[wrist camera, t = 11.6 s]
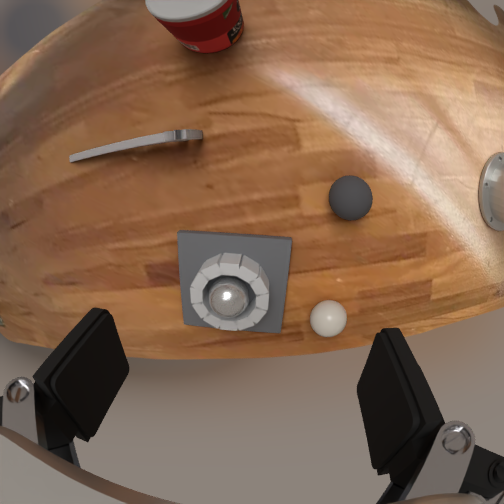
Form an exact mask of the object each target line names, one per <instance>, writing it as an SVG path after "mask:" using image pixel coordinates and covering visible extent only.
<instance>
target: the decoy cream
mask: <svg viewBox="0 0 504 504" xmlns="http://www.w3.org/2000/svg"><path fill="white" fill-rule="evenodd" d="M346 322H347V314H346V311H345V309H344V307H343V306H342V305H341V304H340V303H338V302H337V301H334V300H325V301H322V302H320V303H318V304H317V305H316V306H315V307H314V308H313V310H312V312H311V315H310V324H311V327H312V328H313V330H314V331H315V332H316V333H317V334H318V335H320V336H323V337H333V336H335V335H337V334H339V333H340V332H341V331H342V330H343V329H344V327H345V325H346Z"/></svg>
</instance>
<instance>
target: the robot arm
mask: <svg viewBox="0 0 504 504" xmlns="http://www.w3.org/2000/svg"><path fill="white" fill-rule="evenodd" d="M479 203H480V209H481V213H482V216H483V218H484V220H485V222H486V223H487V224H488V225H489V226H490V227H491V228H493V229H495V230H497V231H504V153H503V152H499V153H495V154H494V155H492V156H491V157H490V158H489V159H488V161H487V163H486V164H485V166H484V169H483V171H482V175H481V179H480V185H479ZM128 373H129V364H128V361H127V359H126V356H125V353H124V350H123V347H122V344H121V341H120V338H119V335H118V332H117V329H116V326H115V322H114V319H113V316H112V315H111V314H110V313H109V311H108V310H106V309H100V308H92V309H91V310H90V311H89V312H88V313H87V314H86V315H85V316H84V317H83V319H82V320H81V321H80V322H79V323H78V324H77V325H76V326H75V327H74V328H73V329H72V331H71V332H70V333H69V334H68V335H67V336H66V337H65V338H64V340H63V341H62V342H61V343H60V344H59V345H58V346H57V348H56V349H55V350H54V351H53V352H52V353H51V354H50V356H49V357H48V358H47V359H46V360H45V362H44V363H43V364H42V365H41V366H40V368H39V369H38V370H37V371H36V373H35V374H34V375H33V378H34V380H35V383H34V384H33V383H32V381H31V380H30V379H28V378H26V377H17V378H15V379H13V380H12V381H10V382H9V383H8V384H7V385H6V388H5V389H4V394H3V396H1V397H0V504H180V503H175V502H171V501H168V500H164V499H160V498H156V497H153V496H150V495H147V494H143V493H140V492H137V491H134V490H132V489H129V488H126V487H123V486H121V485H118V484H115V483H112V482H110V481H108V480H105V479H103V478H101V477H98V476H96V475H94V474H92V473H90V472H87V471H85V470H83V469H81V468H80V464H79V461H78V457H77V453H76V450H75V446H74V442H73V438H74V437H75V436H76V437H77V438H79V439H82V440H84V441H86V442H88V441H89V439H90V437H93V436H94V435H95V434H96V432H97V430H98V428H99V426H100V424H101V423H102V421H103V419H104V417H105V415H106V413H107V411H108V409H109V407H110V406H111V404H112V402H113V400H114V398H115V397H116V395H117V393H118V391H119V389H120V387H121V386H122V384H123V382H124V380H125V379H126V377H127V375H128ZM357 395H358V399H359V404H360V408H361V413H362V417H363V422H364V427H365V432H366V436H367V441H368V447H369V452H370V458H371V463H372V467H373V468H374V469H377V473H378V475H383V474H388V473H389V474H390V480H391V482H390V484H389V485H388V487H387V488H386V490H385V492H384V493H383V494H382V496H381V497H380V499H379V500H378V502H377V503H376V504H504V457H502V456H500V455H498V454H495V453H493V452H491V451H488V450H486V449H484V448H482V447H479V446H477V445H475V436H474V433H473V431H472V429H471V428H470V427H469V426H468V425H467V424H465V423H463V422H460V421H450V422H448V423H445V422H444V419H443V417H442V414H441V412H440V410H439V407H438V405H437V403H436V400H435V398H434V396H433V394H432V391H431V389H430V387H429V385H428V383H427V380H426V378H425V376H424V374H423V372H422V370H421V368H420V366H419V365H418V364H417V362H416V360H415V358H414V356H413V354H412V352H411V350H410V348H409V346H408V344H407V342H406V340H405V338H404V336H403V334H402V333H401V331H400V329H399V328H383V329H382V330H381V332H380V333H377V334H376V336H375V339H374V342H373V345H372V348H371V350H370V353H369V356H368V359H367V362H366V364H365V367H364V369H363V372H362V374H361V377H360V380H359V382H358V385H357Z"/></svg>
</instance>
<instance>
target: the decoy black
mask: <svg viewBox="0 0 504 504" xmlns="http://www.w3.org/2000/svg"><path fill="white" fill-rule="evenodd" d="M372 200H373V198H372V192H371V189H370V187H369V186H368V184H367V183H366V182H365V181H364V180H362V179H361V178H359V177H356V176H344V177H341V178H339V179H338V180H336V181H335V182H334V183H333V185H332V186H331V189H330V192H329V203H330V206H331V208H332V210H333V211H334V212H335V213H336V214H337V215H338V216H339V217H341V218H343V219H346V220H357V219H360V218H362V217H363V216H365V215H366V214H367V213H368V212H369V210H370V208H371V205H372Z"/></svg>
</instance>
